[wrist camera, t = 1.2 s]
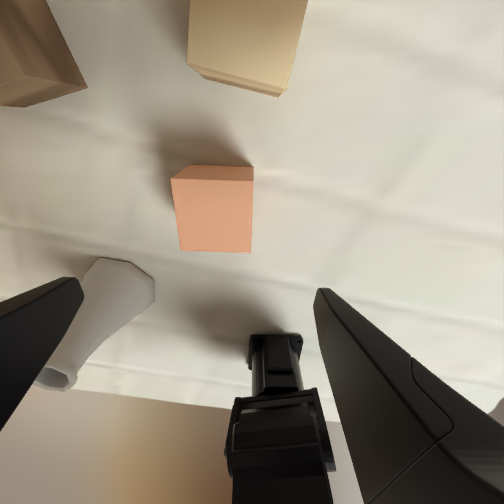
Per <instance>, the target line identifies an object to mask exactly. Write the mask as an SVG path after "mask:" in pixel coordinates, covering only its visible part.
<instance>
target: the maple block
mask: <svg viewBox="0 0 504 504" xmlns="http://www.w3.org/2000/svg"><path fill="white" fill-rule="evenodd" d="M307 2H308V0H190V10H189V30H188V49H187V63H188V64H189V65H190V66H191V67H192V68H193V69H195V70H196V71H197V72H198V73H199V74H200V75H202V76H203V77H204V78H205V79H208V80H212V81H216V82H220V83H224V84H227V85H231V86H235V87H239V88H243V89H247V90H251V91H255V92H258V93H262V94H266V95H270V96H274V97H279V96H280V95H281V94H282V93H283V92H284V91H285V90H287V87H288V83H289V78H290V74H291V70H292V66H293V61H294V57H295V53H296V49H297V44H298V40H299V36H300V32H301V27H302V23H303V19H304V15H305V11H306V6H307Z"/></svg>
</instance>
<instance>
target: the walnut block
mask: <svg viewBox="0 0 504 504" xmlns="http://www.w3.org/2000/svg"><path fill="white" fill-rule="evenodd" d="M85 88H88V87H87V85H86V83H85V81H84V79H83V76H82V74H81V72H80V70H79V68H78V66H77V64H76V62H75V60H74V58H73V56H72V54H71V52H70V50H69V48H68V46H67V44H66V41H65V39H64V37H63V35H62V33H61V31H60V29H59V27H58V25H57V23H56V21H55V19H54V17H53V15H52V13H51V11H50V8H49V6H48V4H47V2H46V0H0V106H9V107H28V106H31V105H34V104H37V103H41V102H44V101H47V100H50V99H53V98H57V97H60V96H63V95H66V94H69V93H73V92H76V91H79V90H82V89H85Z"/></svg>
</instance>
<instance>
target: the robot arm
mask: <svg viewBox="0 0 504 504" xmlns="http://www.w3.org/2000/svg"><path fill="white" fill-rule="evenodd" d="M83 301H84V292H83V290H82V287H81V285H80V283H79V280H78V279H77V278H75V277H61V278H59V279H56V280H54V281H51V282H49V283H47V284H44V285H42V286H39V287H37V288H34V289H32V290H29V291H27V292H24V293H22V294H20V295H17V296H15V297H12V298H10V299H7V300H5V301H2V302H0V431H1V430H2V428H3V427H4V425H5V424H6V422H7V421H8V419H9V418H10V416H11V415H12V414H13V412H14V411H15V409H16V407H17V406H18V405H19V403H20V402H21V400H22V399H23V397H24V396H25V394H26V393H27V391H28V390H29V388H30V387H31V385H32V384H33V382H34V381H35V379H36V378H37V376H38V375H39V373H40V372H41V370H42V369H43V367H44V366H45V364H46V363H47V362H48V360H49V359H50V357H51V356H52V354H53V353H54V351H55V350H56V348H57V347H58V345H59V344H60V342H61V341H62V339H63V337H64V336H65V334H66V332H67V330H68V329H69V327H70V325H71V323H72V321H73V319H74V317H75V316H76V314H77V312H78V310H79V308H80V306H81V304H82V303H83ZM313 310H314V316H315V322H316V328H317V334H318V340H319V346H320V350H321V354H322V357H323V361H324V364H325V368H326V371H327V375H328V378H329V382H330V385H331V389H332V392H333V396H334V399H335V403H336V407H337V410H338V414H339V417H340V421H341V424H342V428H343V431H344V435H345V438H346V442H347V445H348V449H349V452H350V456H351V459H352V463H353V466H354V470H355V473H356V477H357V480H358V484H359V487H360V491H361V494H362V498H363V501H364V504H504V426H502V425H501V424H500V423H498V422H497V421H496V420H494V419H493V418H492V417H490V416H489V415H487V414H486V413H485V412H483V411H482V410H481V409H479V408H478V407H477V406H475V405H474V404H472V403H471V402H470V401H468V400H467V399H466V398H464V397H463V396H462V395H460V394H459V393H458V392H456V391H455V390H454V389H452V388H451V387H450V386H448V385H447V384H446V383H444V382H443V381H442V380H441V379H439V378H438V377H437V376H436V375H434V374H433V373H432V372H431V371H429V370H428V369H427V368H426V367H424V366H423V365H422V364H421V363H420V362H418V361H417V360H416V359H415V358H413V357H411V355H410V354H409V353H407V352H406V351H405V350H404V349H402V348H401V347H400V346H399V345H398V344H396V343H395V342H394V341H393V340H392V339H390V338H389V337H388V336H387V335H386V334H384V333H383V332H382V331H381V330H379V329H378V328H377V327H376V326H375V325H373V324H372V323H371V322H370V321H369V320H367V319H366V318H365V317H364V316H362V315H361V314H360V313H359V312H358V311H356V310H355V309H354V308H353V307H352V306H350V305H349V304H348V303H347V302H346V301H344V300H343V299H342V298H341V297H339V296H338V295H337V294H336V293H335V292H333V291H332V290H331V289H330V288H318V290H317V292H316V296H315V300H314V305H313ZM302 345H303V338H302V337H301V336H275V335H251V336H250V339H249V364H248V368H249V370H252V396H251V397H243V398H241V397H235V401H234V405H233V408H232V413H231V418H230V423H229V428H228V434H227V439H226V445H225V448H224V456H225V457H226V458H227V465H228V472H229V475H230V477H231V479H232V480H233V493H232V504H333V498H332V493H331V489H330V484H329V479H328V474H327V472H334V471H336V467H335V462H334V457H333V452H332V448H331V444H330V439H329V435H328V431H327V427H326V422H325V418H324V415H323V411H322V407H321V403H320V399H319V395H318V391H317V387H315V388H312V389H308V390H304V387H303V382H302V377H301V372H300V366H299V359H300V354H301V350H302Z"/></svg>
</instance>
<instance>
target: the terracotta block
mask: <svg viewBox="0 0 504 504" xmlns="http://www.w3.org/2000/svg"><path fill="white" fill-rule="evenodd" d="M170 179H171V186H172V193H173V200H174V207H175V214H176V221H177V228H178V235H179V242H180V249H181V251H209V252H242V253H251V237H252V209H253V167H242V166H214V165H189V166H187V167H186V168H185V169H183V170H182V171H180V172H179V173H178V174H176V175H175V176H173V177H172V178H170Z"/></svg>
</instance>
